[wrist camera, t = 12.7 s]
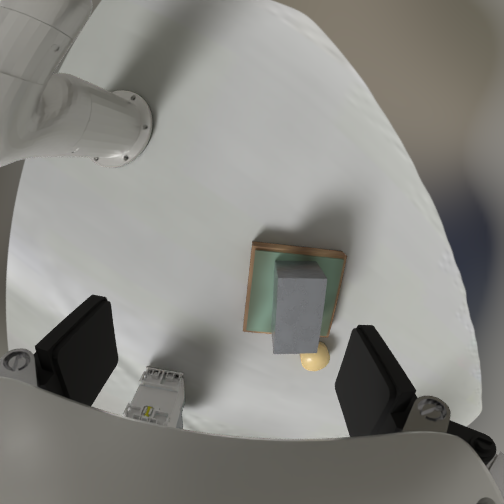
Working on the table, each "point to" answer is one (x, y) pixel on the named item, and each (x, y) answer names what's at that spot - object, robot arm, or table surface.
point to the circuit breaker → (158, 398)
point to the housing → (297, 306)
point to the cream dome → (316, 358)
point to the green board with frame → (263, 281)
